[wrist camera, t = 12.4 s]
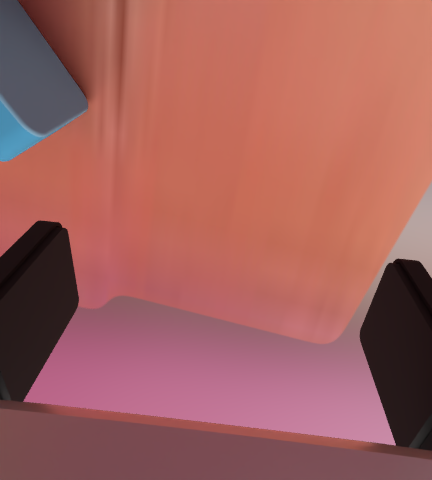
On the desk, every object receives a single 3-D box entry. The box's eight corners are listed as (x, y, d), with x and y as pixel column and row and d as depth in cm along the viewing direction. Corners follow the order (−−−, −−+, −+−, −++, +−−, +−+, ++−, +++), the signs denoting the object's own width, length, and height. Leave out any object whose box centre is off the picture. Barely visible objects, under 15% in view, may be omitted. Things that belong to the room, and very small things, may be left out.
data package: (-28, 12, 33) (-147, 11, 23) (6, -18, 32) (-105, -34, 22) (61, 128, 38) (-4, 168, 28) (93, 106, 37) (37, 140, 27)
